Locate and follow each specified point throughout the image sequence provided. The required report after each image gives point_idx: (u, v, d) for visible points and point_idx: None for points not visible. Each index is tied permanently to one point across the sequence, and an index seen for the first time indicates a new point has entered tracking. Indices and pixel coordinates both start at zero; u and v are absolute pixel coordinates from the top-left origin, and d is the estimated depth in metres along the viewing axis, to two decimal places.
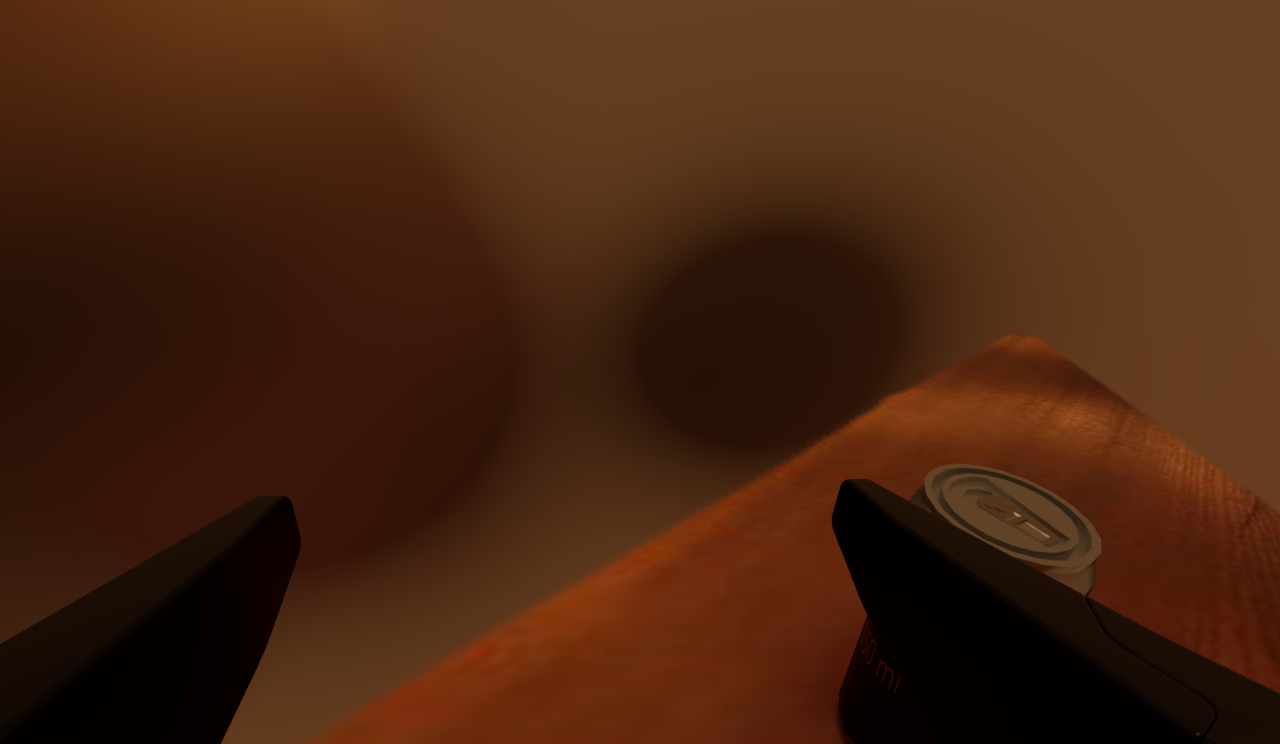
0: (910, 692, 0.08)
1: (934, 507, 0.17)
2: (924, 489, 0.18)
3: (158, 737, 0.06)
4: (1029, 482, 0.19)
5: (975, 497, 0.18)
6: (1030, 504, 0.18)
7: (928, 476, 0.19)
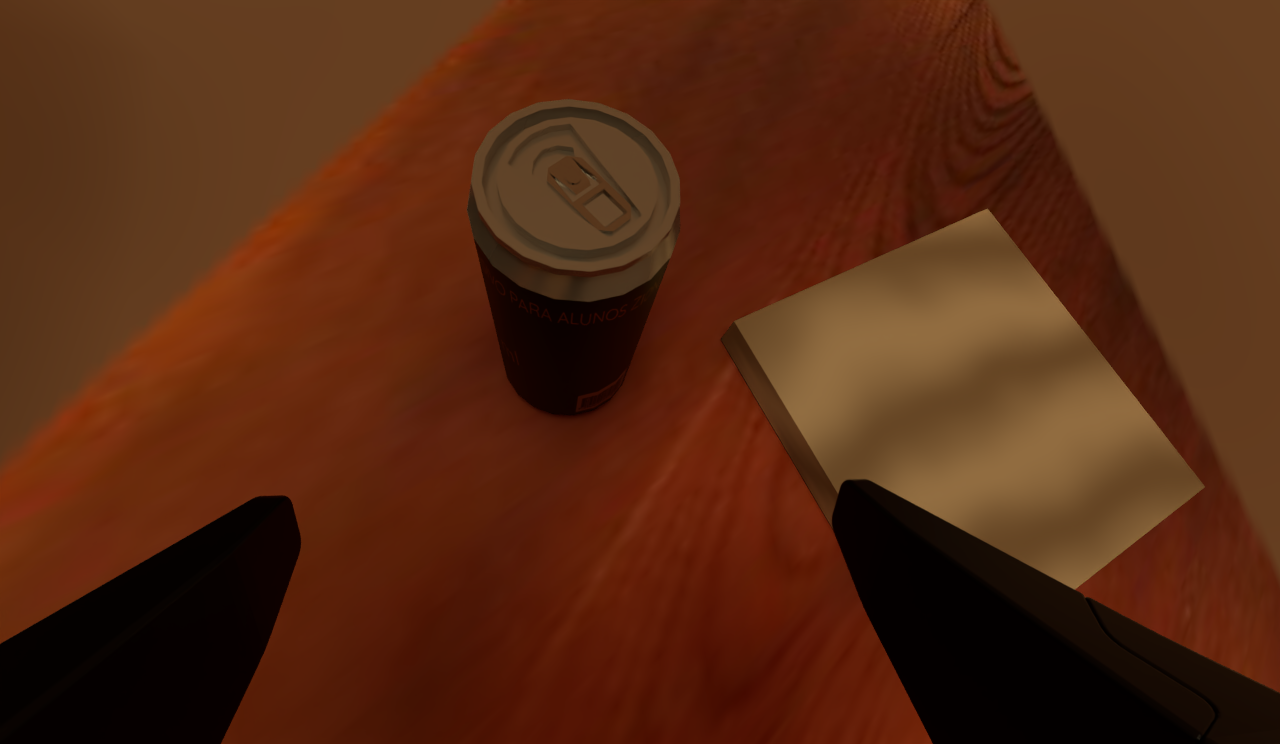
0: (910, 692, 0.08)
1: (477, 203, 0.12)
2: (473, 169, 0.12)
3: (158, 737, 0.06)
4: (628, 118, 0.14)
5: (551, 160, 0.13)
6: (614, 162, 0.13)
7: (485, 141, 0.13)
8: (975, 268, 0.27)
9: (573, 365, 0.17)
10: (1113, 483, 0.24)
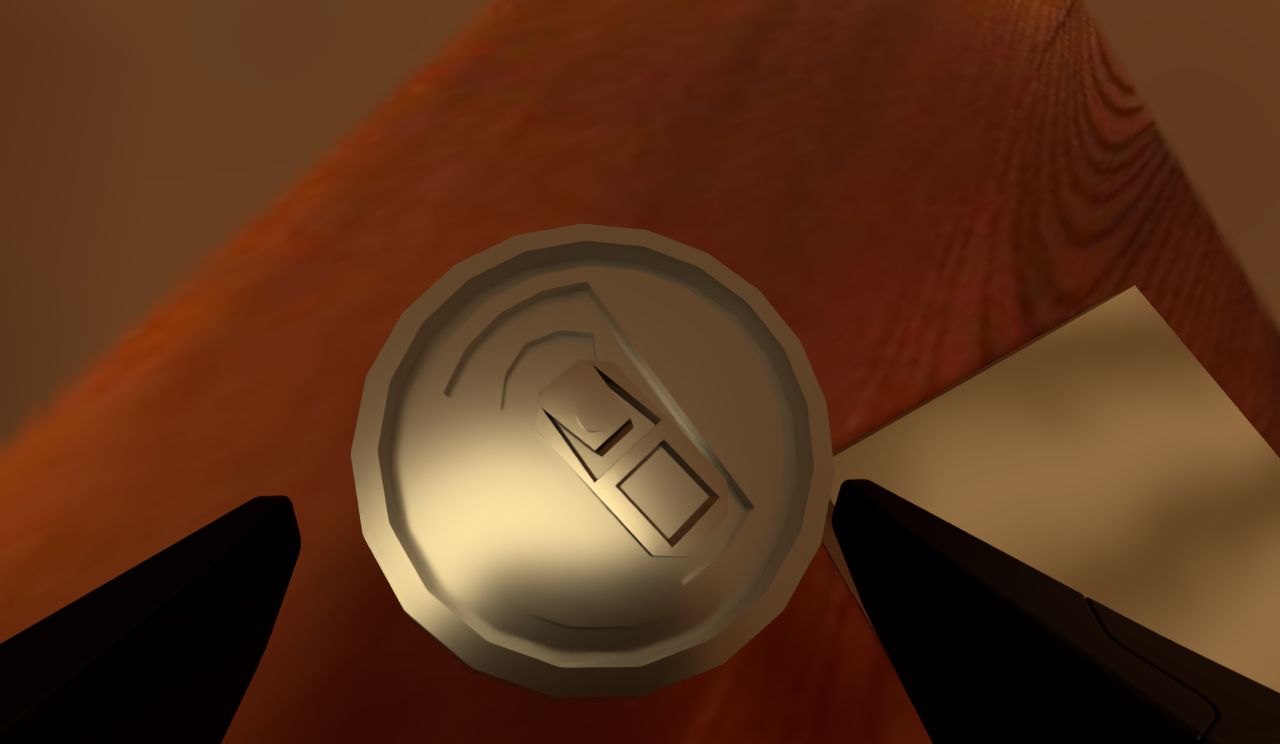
0: (910, 692, 0.08)
1: (362, 513, 0.05)
2: (361, 412, 0.05)
3: (158, 737, 0.06)
4: (708, 263, 0.06)
5: (546, 363, 0.06)
6: (686, 371, 0.06)
7: (395, 337, 0.06)
8: (1130, 373, 0.19)
9: None
10: None
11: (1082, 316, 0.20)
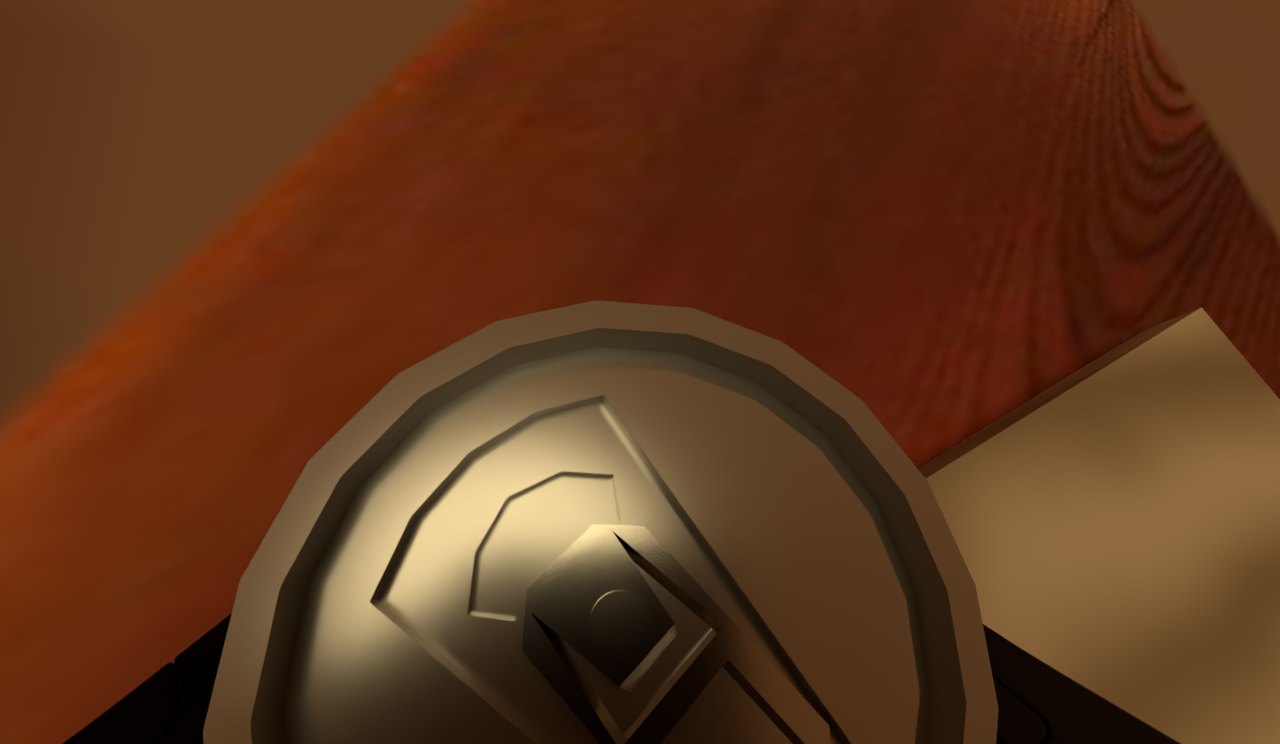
0: None
1: None
2: (230, 644, 0.03)
3: None
4: (785, 358, 0.04)
5: (540, 523, 0.04)
6: (761, 542, 0.04)
7: (294, 504, 0.03)
8: (1201, 408, 0.17)
9: None
10: None
11: (1145, 343, 0.18)
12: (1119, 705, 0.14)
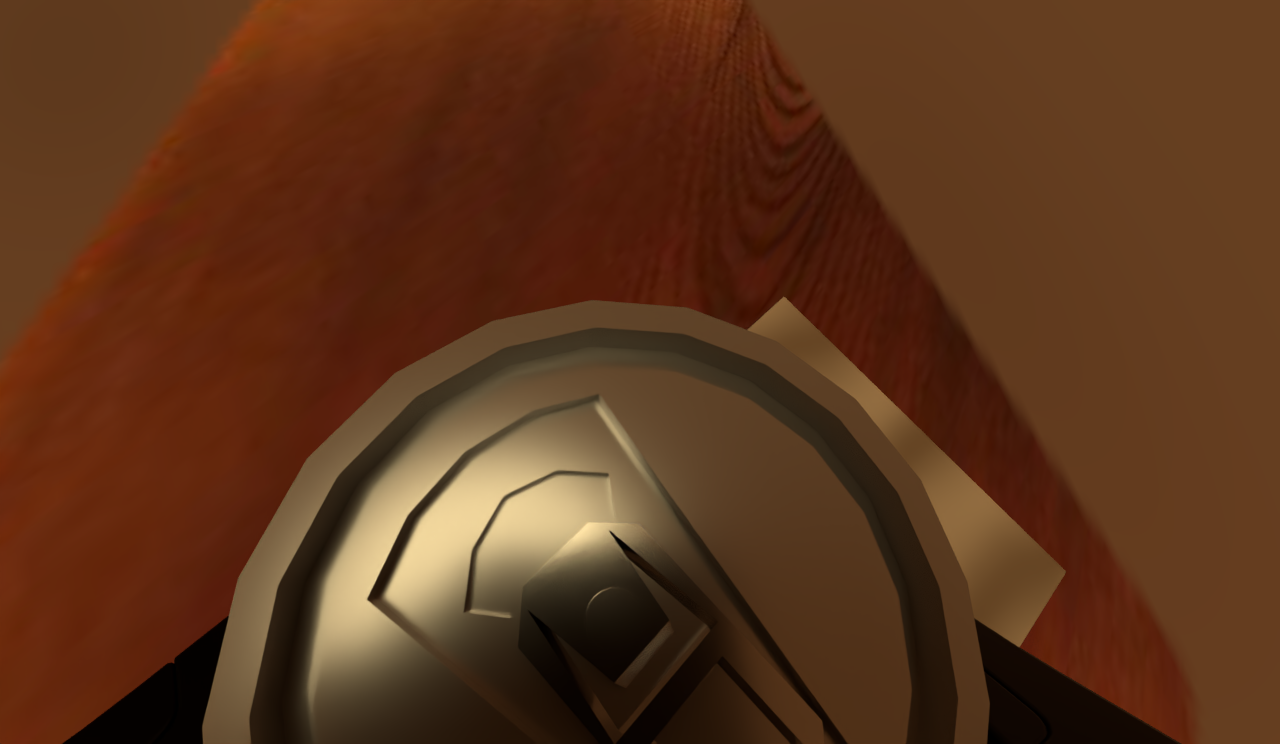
0: None
1: None
2: (229, 642, 0.03)
3: None
4: (779, 357, 0.04)
5: (537, 520, 0.04)
6: (754, 539, 0.04)
7: (291, 503, 0.03)
8: None
9: None
10: None
11: None
12: None
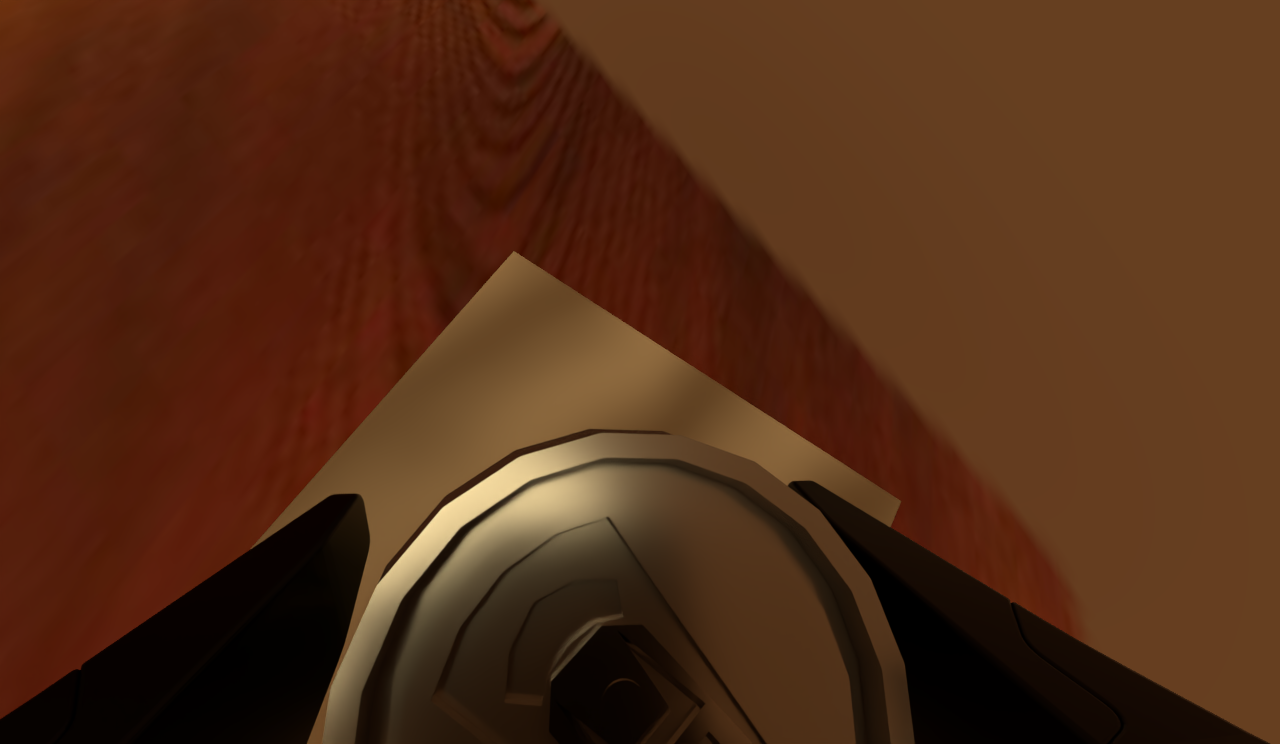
0: None
1: None
2: (326, 738, 0.04)
3: (264, 728, 0.06)
4: (757, 476, 0.05)
5: (560, 620, 0.05)
6: (735, 635, 0.05)
7: (366, 623, 0.04)
8: (520, 355, 0.18)
9: None
10: None
11: (457, 317, 0.18)
12: None
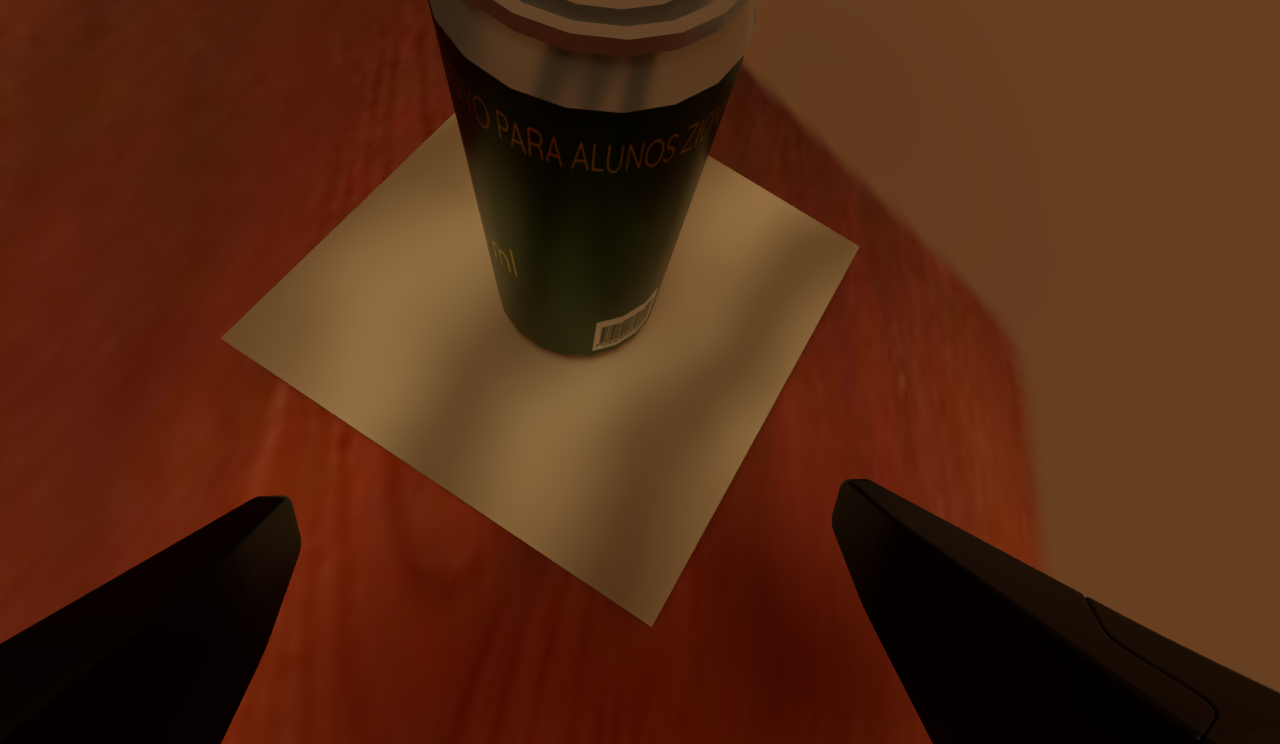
0: (910, 692, 0.08)
1: None
2: None
3: (158, 737, 0.06)
4: None
5: None
6: None
7: None
8: None
9: (593, 263, 0.12)
10: (763, 294, 0.20)
11: None
12: (481, 360, 0.18)
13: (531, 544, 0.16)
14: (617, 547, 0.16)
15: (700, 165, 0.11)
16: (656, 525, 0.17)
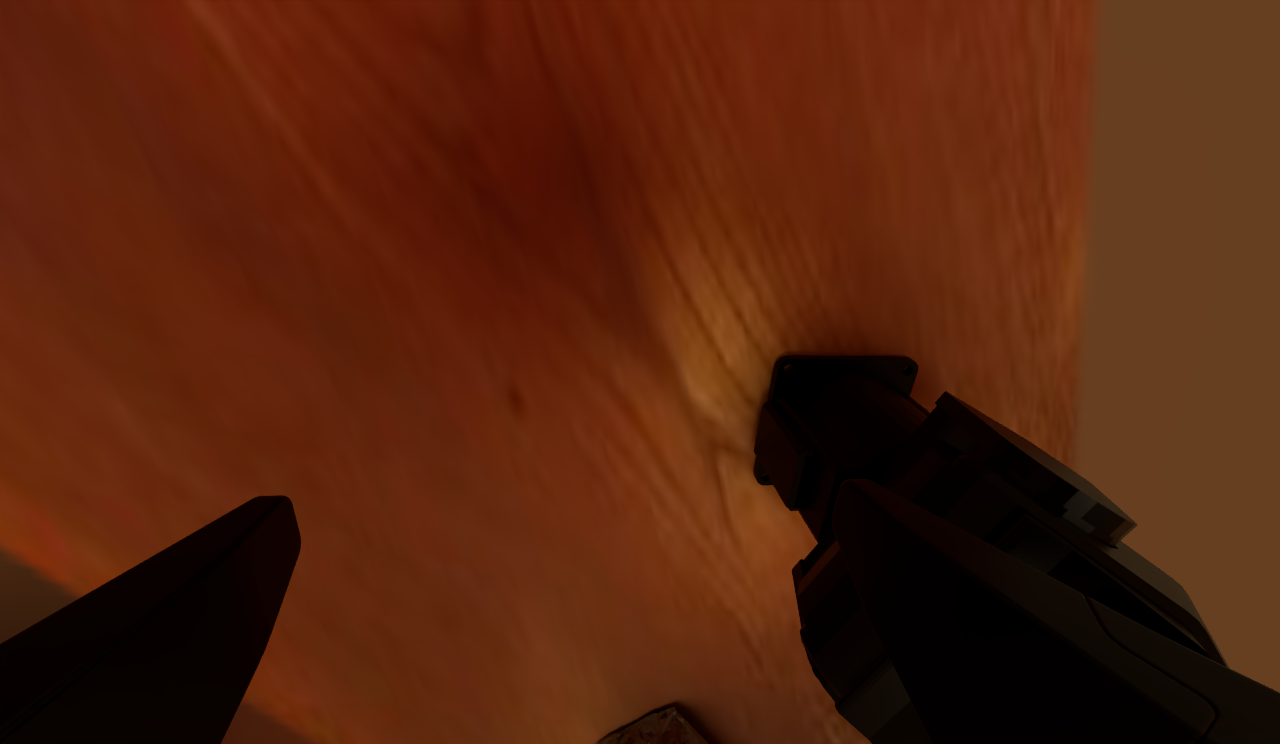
0: (910, 692, 0.08)
1: None
2: None
3: (158, 737, 0.06)
4: None
5: None
6: None
7: None
8: None
9: None
10: None
11: None
12: None
13: None
14: None
15: None
16: None
